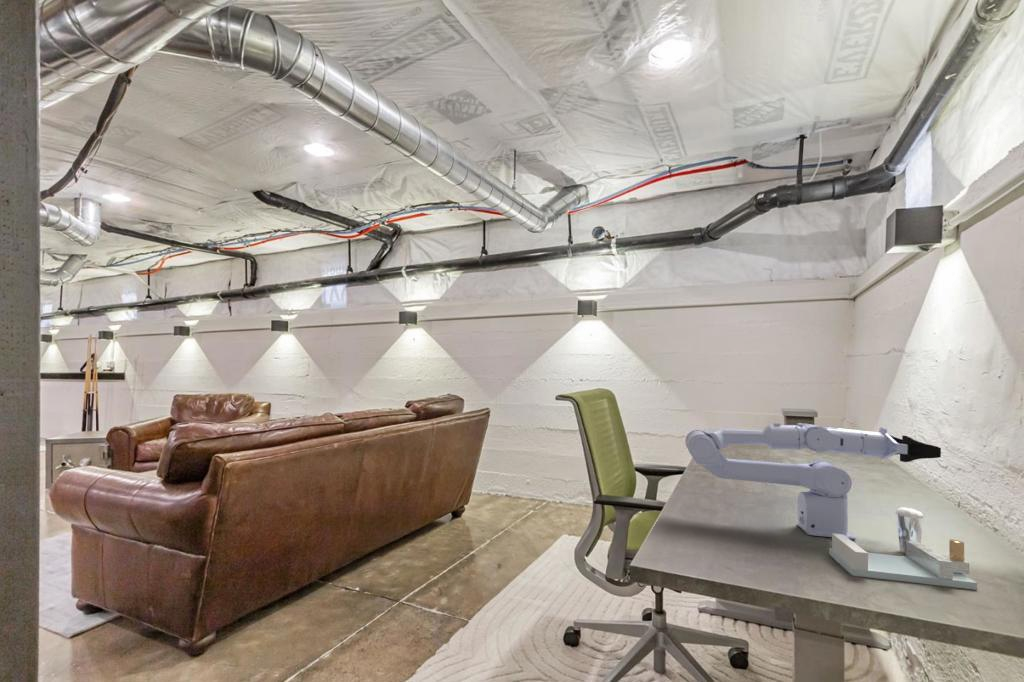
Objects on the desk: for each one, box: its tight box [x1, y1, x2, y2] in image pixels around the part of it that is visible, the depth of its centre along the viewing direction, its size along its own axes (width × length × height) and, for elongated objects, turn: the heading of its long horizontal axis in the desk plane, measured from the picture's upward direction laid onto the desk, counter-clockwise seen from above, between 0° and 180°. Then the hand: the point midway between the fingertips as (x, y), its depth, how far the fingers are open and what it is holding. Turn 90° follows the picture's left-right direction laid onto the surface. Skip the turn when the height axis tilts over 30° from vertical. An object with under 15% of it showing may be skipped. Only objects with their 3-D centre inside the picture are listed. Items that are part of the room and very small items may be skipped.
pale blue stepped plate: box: [828, 533, 978, 591], centre depth 89 cm, size 19×10×4 cm, turn 77°
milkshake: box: [894, 506, 929, 555], centre depth 98 cm, size 4×5×10 cm
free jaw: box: [906, 539, 970, 579], centre depth 88 cm, size 6×10×5 cm, turn 167°
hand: (929, 450), depth 105 cm, fingers open, 7 cm apart
